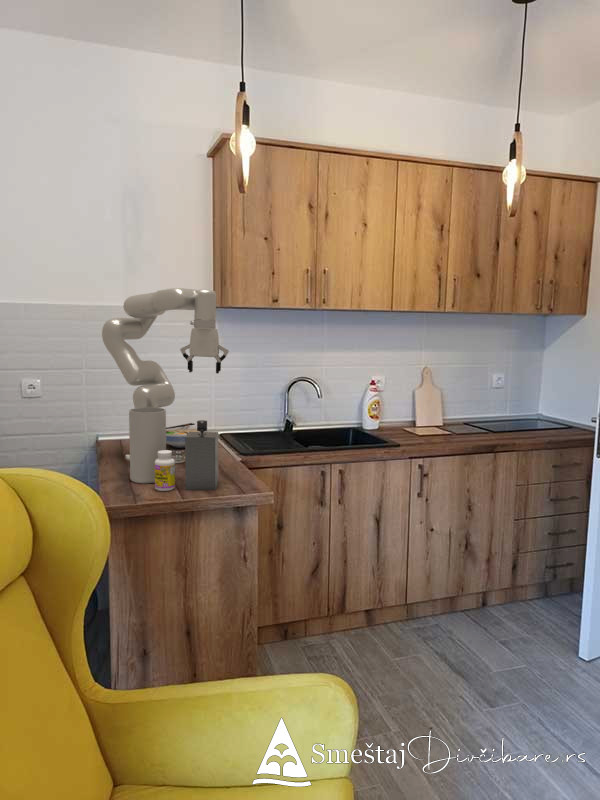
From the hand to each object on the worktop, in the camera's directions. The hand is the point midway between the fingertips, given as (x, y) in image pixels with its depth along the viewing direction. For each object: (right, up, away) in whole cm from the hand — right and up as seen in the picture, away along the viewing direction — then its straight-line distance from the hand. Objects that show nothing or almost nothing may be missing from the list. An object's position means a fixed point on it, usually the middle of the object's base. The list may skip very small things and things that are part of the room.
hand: (204, 372), depth 216 cm
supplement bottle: (-11, -40, -14) cm, 44 cm away
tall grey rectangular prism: (+1, -39, -8) cm, 40 cm away
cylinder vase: (-19, -38, -3) cm, 43 cm away
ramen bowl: (-19, -31, +54) cm, 65 cm away
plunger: (+1, -38, -10) cm, 39 cm away
